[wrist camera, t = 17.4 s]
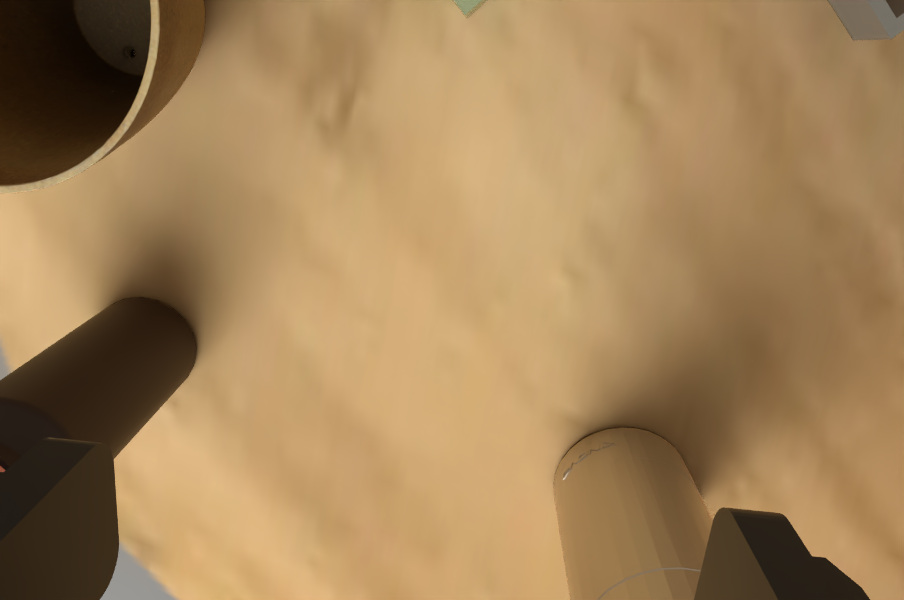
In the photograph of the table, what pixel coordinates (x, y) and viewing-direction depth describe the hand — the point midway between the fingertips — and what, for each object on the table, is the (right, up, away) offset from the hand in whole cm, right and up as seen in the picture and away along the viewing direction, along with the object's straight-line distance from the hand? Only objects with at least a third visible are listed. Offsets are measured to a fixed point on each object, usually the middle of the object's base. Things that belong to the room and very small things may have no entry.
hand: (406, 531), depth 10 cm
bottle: (-19, 0, +39) cm, 44 cm away
